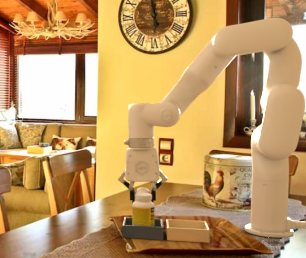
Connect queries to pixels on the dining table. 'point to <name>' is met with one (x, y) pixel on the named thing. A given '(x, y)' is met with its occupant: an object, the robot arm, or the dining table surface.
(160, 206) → the dining table surface
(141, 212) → the pill bottle
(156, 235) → the slate bin
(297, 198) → the dining table surface
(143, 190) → the white ball
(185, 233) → the cream bin
